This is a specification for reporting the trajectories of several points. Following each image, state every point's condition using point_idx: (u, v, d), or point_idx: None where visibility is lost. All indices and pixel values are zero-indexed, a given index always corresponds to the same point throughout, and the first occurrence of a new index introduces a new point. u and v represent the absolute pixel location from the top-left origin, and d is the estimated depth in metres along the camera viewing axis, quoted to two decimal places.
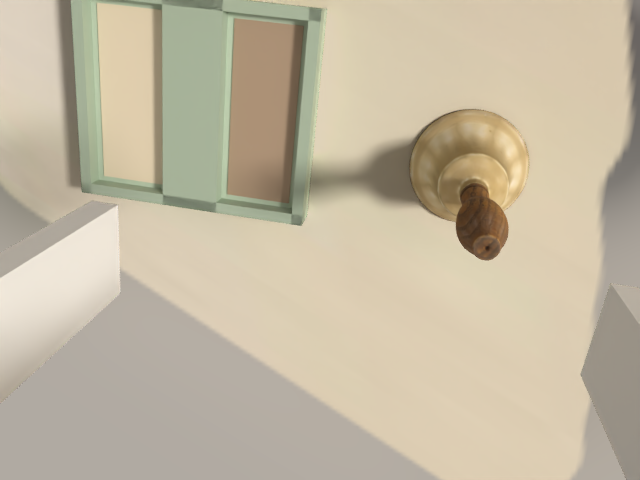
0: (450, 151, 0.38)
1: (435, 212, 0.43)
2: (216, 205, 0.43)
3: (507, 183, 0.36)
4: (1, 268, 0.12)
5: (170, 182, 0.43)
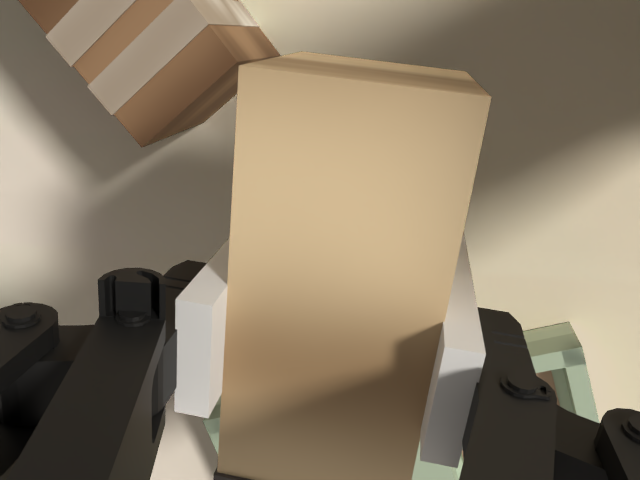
0: None
1: None
2: None
3: None
4: None
5: None
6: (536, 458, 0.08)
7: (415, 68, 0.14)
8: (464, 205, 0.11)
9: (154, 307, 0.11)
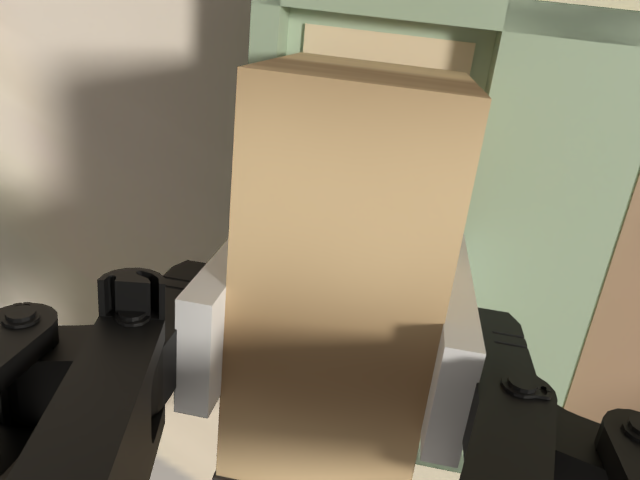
0: None
1: None
2: None
3: None
4: None
5: None
6: (537, 458, 0.08)
7: (415, 69, 0.14)
8: (464, 207, 0.11)
9: (154, 307, 0.11)
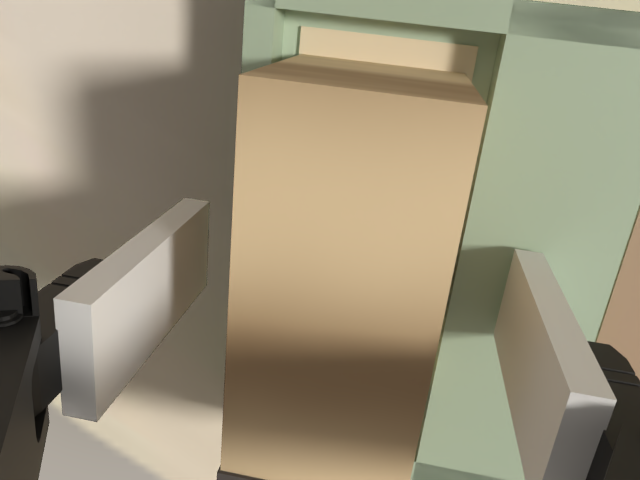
0: None
1: None
2: None
3: None
4: (131, 258, 0.13)
5: (441, 440, 0.19)
6: None
7: (414, 71, 0.15)
8: (461, 211, 0.11)
9: (26, 304, 0.11)
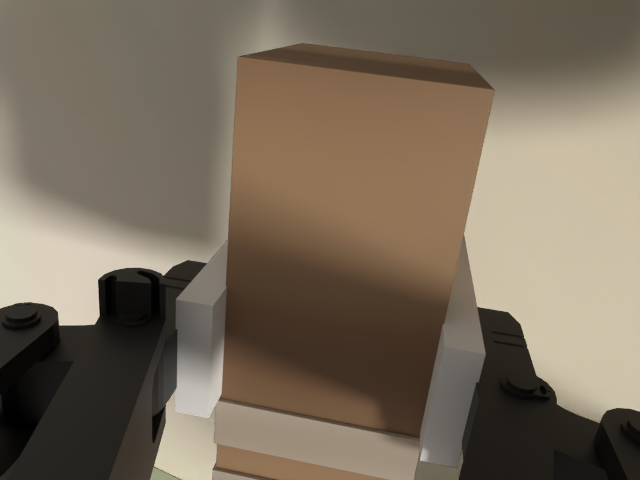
0: None
1: None
2: None
3: None
4: None
5: None
6: (536, 458, 0.08)
7: None
8: None
9: (154, 307, 0.11)
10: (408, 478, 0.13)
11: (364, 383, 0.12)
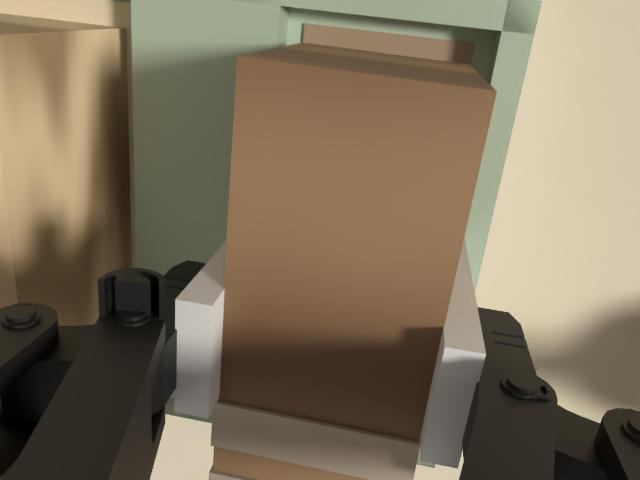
0: None
1: None
2: None
3: None
4: None
5: None
6: (536, 458, 0.08)
7: (60, 23, 0.16)
8: None
9: (154, 307, 0.11)
10: None
11: (363, 386, 0.12)
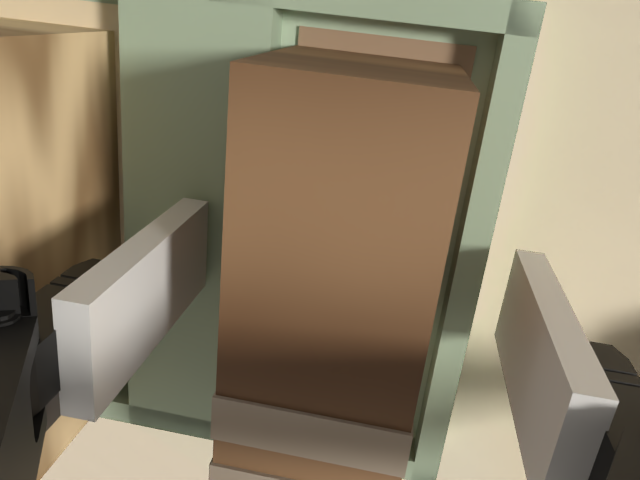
0: None
1: None
2: None
3: None
4: (129, 259, 0.13)
5: (145, 383, 0.20)
6: None
7: (44, 26, 0.16)
8: None
9: (24, 304, 0.11)
10: (400, 472, 0.13)
11: (356, 379, 0.13)
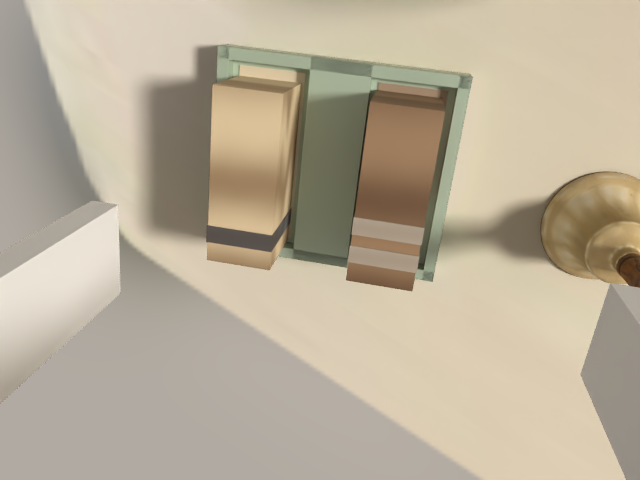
0: (595, 215, 0.39)
1: (565, 269, 0.43)
2: (347, 260, 0.44)
3: None
4: (1, 268, 0.12)
5: (302, 238, 0.44)
6: None
7: (279, 82, 0.40)
8: (279, 125, 0.36)
9: None
10: (420, 242, 0.37)
11: (405, 208, 0.37)
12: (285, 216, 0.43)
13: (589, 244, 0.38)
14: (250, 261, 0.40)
